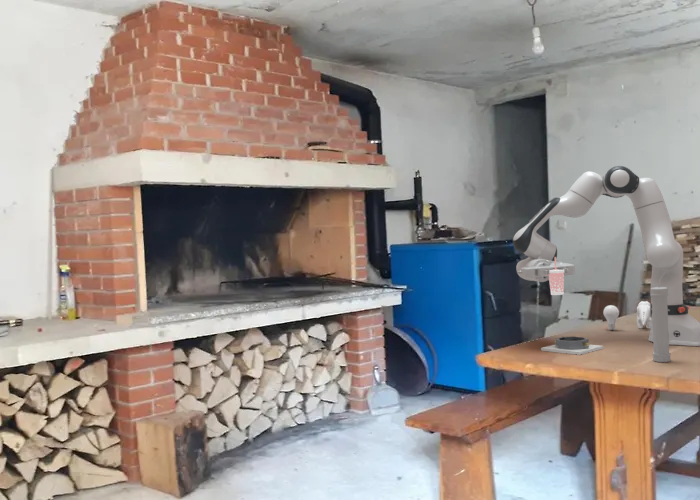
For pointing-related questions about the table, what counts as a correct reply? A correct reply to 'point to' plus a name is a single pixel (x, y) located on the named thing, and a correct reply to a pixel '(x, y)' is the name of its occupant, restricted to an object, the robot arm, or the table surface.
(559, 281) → the beverage cup
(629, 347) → the table surface
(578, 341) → the collar
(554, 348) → the base plate
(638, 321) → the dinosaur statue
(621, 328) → the table surface
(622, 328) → the table surface
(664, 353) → the pipe
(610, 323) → the lightbulb
